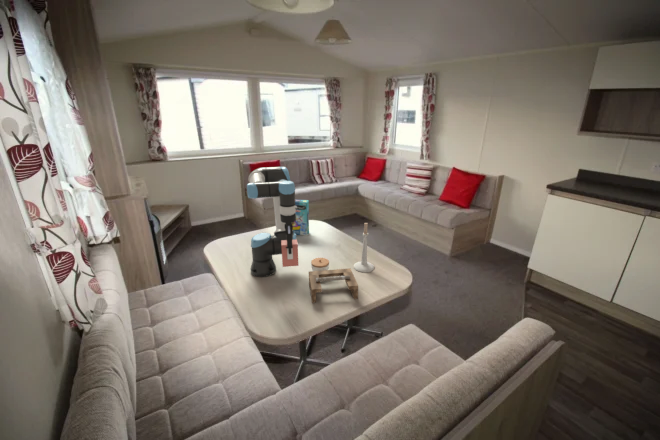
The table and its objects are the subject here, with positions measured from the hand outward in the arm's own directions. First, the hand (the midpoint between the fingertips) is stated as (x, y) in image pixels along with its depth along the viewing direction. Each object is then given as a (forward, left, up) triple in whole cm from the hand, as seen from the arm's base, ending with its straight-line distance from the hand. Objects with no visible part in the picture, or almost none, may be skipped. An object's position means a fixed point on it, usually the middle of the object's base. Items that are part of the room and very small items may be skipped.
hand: (290, 255), depth 156 cm
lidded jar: (+18, +19, -23) cm, 35 cm away
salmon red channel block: (0, 0, -4) cm, 4 cm away
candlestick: (+46, +22, -23) cm, 56 cm away
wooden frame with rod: (+22, -1, -23) cm, 32 cm away
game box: (+7, +83, -23) cm, 86 cm away
